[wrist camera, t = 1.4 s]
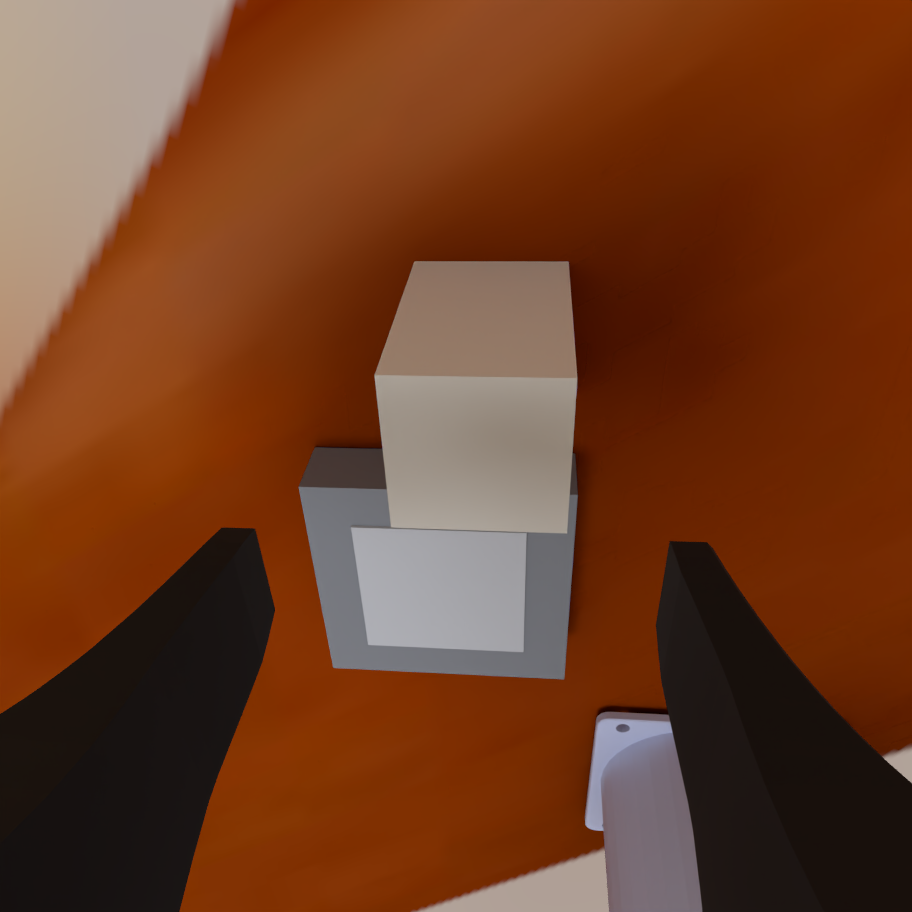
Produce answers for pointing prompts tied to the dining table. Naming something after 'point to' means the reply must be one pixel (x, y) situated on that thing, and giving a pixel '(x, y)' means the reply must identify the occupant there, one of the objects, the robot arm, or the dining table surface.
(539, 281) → the cream block
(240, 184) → the dining table surface
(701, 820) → the robot arm
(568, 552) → the gray base
